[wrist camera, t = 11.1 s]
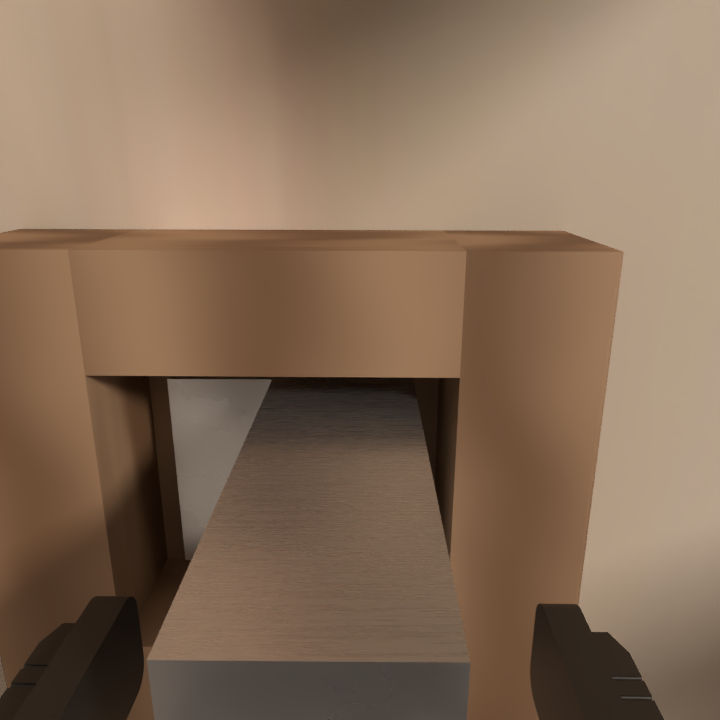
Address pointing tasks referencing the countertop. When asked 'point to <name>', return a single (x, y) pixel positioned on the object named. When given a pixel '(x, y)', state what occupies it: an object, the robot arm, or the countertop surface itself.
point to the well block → (300, 359)
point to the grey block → (308, 557)
